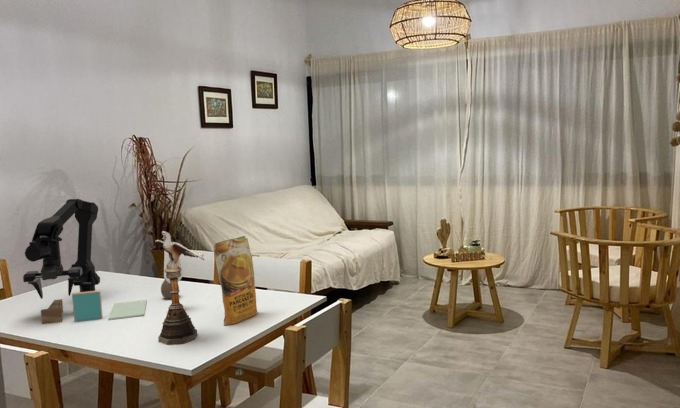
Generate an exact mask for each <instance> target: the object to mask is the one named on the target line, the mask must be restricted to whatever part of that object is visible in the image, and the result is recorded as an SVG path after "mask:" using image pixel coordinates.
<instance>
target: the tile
mask: <svg viewBox="0 0 680 408" xmlns="http://www.w3.org/2000/svg"><path fill="white" fill-rule="evenodd" d="M101 295H102V294H101V290H100V289H96V290H95V291H87V292H80V291H79V292H73V293H71V297H72V300H71V301H72V307H73V309H72V310H73V317H74V319H73V320H74V323H78V322H86V321H92V320H93V321H94V320H102V319H103V317H104V316H103V308H102V306H103V305H102V296H101Z"/></svg>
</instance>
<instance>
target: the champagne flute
mask: <svg viewBox="0 0 680 408" xmlns="http://www.w3.org/2000/svg"><path fill="white" fill-rule="evenodd" d="M163 250H164V249H163ZM163 255H164V257H163V258H164V259H163V278H164V280H165V279H166V281H168V282H169V283H170V281H169V280H170V279H169V278H167V277H166V274H167V273H166V272H165V269H166V268H167V267H166V265H167V263H168V262H169V261H170V260H171V259H170V257H169V253H168V252H166V251H165V250H164V254H163ZM180 257H181V256H180ZM180 257H179V259H178V263H179V267H180V268H181V269H182V270H181V272H180V273H181V276H180V277H178V283H179V282H180V281H181V280H182V278H183V276H184V274H183V267H182V262H181V258H180ZM183 308H184V310H185V311H186V308H185V307H184V306H183ZM168 310H169V309H167V310H166V313H168Z"/></svg>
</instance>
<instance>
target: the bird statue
mask: <svg viewBox="0 0 680 408" xmlns="http://www.w3.org/2000/svg"><path fill="white" fill-rule="evenodd" d="M161 235H162V236H163V237H162V238H160V239H156V240H155V241H154V243H155V244H157V245H159V246H161V247H162V248H163V250H165V251H166V252H168V253H169V257H170V259H171V260H170V261H169V262H168V263H167V265H166V267H167V268H166V269H165V272H166V273H167V274H166V277H167V278H169V279H170V280H169V281H170V284H171V291H170V293H171V298H172V299H171V304H170V305H169V306H168V307H167V308H168V309H169V310H168V309H167V310H168V312H166V316H165V318H164V321H163V322H162V327H161V330H160V331H161V332H160V334H159V335H158V343H161V344H164V345H166V346H170V345H171V346H173V345H183V344H186V343H189V342H191V341H194V340H196V337H197V336H198V329H196V327H195V326H194V324H193V321H192V318H191V317H190V315H189V314H188V313H187V312H186V309H185V310H184V308H185V307H184V305H183V304H182V303H180V293H179V292H180V291H181V290H180V289H179V290H178V286H179V282H178V277H180V276H181V273H180V272H181V270H182V271H183V268H182V269H181V268H180V267H179V263H178V259H179V257H181V255H183V256H184V257H189V258H197V259H198V258H200V260H203V261H205V258H204V253H202V252H201V253H200V252H195V251H192V250H190V249H189V248H187V247H186V246H184V245H182V244H181V243H179V242H177V241H176V242H175V241H172V239H171V237H172V236H171V234H170V233H169V232H167V231H165V230H162V231H161ZM183 307H184V308H183Z"/></svg>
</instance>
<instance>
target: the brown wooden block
mask: <svg viewBox="0 0 680 408" xmlns="http://www.w3.org/2000/svg"><path fill="white" fill-rule="evenodd" d="M63 314H64V305H63V298H60V299H54V300H53V301H52V303H50V305H49V307H47V308H46V309H41V310H40V316H41V325H47V324H48V325H50V324H54V323H55V324H57V323H63V321H64V318H63Z"/></svg>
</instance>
